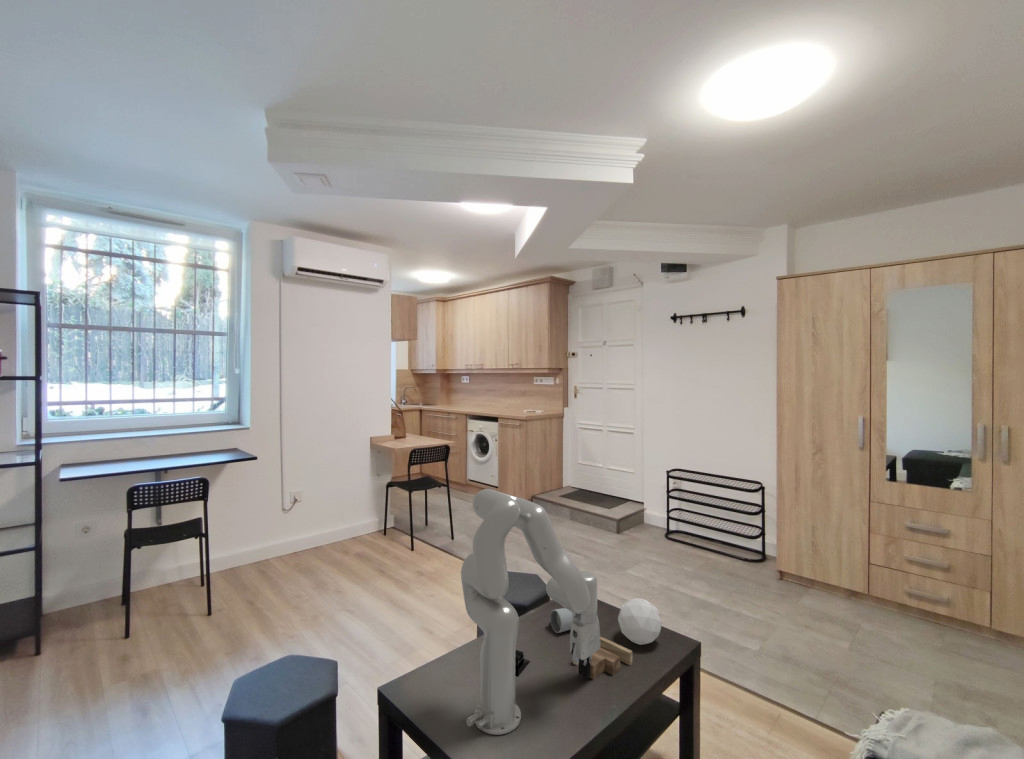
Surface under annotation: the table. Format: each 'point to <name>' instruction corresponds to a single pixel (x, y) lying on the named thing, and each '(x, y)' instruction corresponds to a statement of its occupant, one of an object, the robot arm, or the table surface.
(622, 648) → the light wooden angled piece
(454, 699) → the table surface
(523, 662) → the build plate
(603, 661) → the tee block
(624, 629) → the white faceted ball
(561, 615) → the ceramic mug
